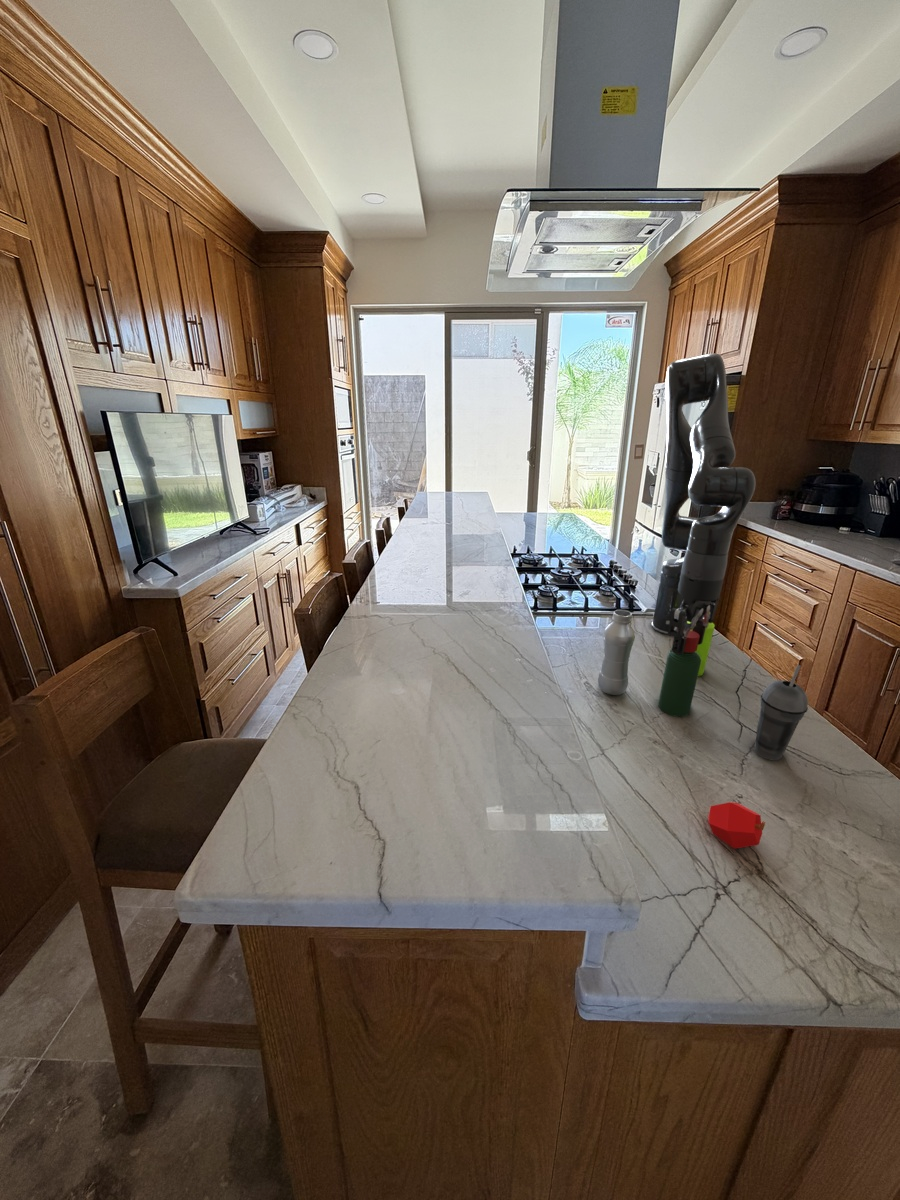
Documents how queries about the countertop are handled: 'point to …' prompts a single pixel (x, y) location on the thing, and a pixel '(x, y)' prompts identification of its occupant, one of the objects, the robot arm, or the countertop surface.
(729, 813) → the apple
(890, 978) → the countertop surface
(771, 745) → the beverage cup
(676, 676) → the oil bottle
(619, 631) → the plastic bottle
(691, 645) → the cap
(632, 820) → the countertop surface
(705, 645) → the soap dispenser
